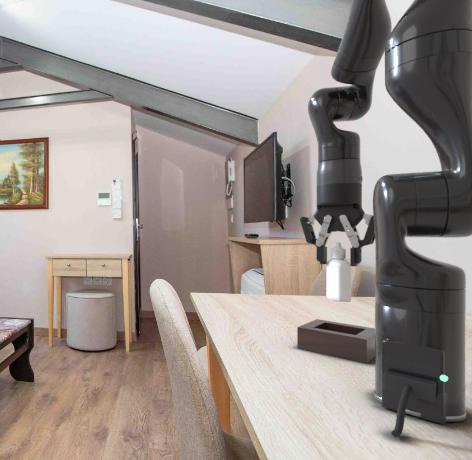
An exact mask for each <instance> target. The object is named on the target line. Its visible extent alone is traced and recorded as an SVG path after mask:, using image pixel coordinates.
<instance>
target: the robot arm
mask: <svg viewBox="0 0 472 460" xmlns="http://www.w3.org/2000/svg"><path fill="white" fill-rule="evenodd" d="M350 3H351V4H350V8H349V12H348V16H347V22H346V25H345V29H344V32H343V36H342V39H341V41H340V44H339V46H338V49H337V52H336V55H335V58H334V61H333V64H332V65H331V70H330V75H331V78H332V79H333V80H334V81H336V82H337V83H341V84H344V85H345V86H344V85H343V86H333V87H323V88H319V89H317V90H316V91H314V92H313V94H312V95H311V96H310V98H309V100H308V105H307V113H308V117H309V119H310V122H311V125H312V127H313V131H314V134H315V138H316V142H317V148H318V149H317V170H316V210H315V212H314V213H313V214H311V215H308V216H300V217H299V222H300V225H301V228H302V231H303V235H304V238H305V241H306V243H307V244H311V245H314V246H315V247H316V261H317V262H319V264H320V265H327V262H328V246H326V245H327V243H328V241H329V238H330V237H331V235H332V233H336V232H341V233H345V234H346V236H347V238H348V239H349V242H350V244H351V247H350V248H349V249H350V252H349V253H350V255H349V256H350V257H349V258H350V259H349V261H350V262H349V264H350V265H351V267H358V265H359V264H361V263H362V249H363V248H364V247H365V246H371V245H373V244H374V243H375V244H374V245H375V249H374V250H375V273H374V274H375V276H374V277H375V278H374V281H375V282H374V285H375V286H374V292H375V293H374V297H375V299H374V301H375V302H374V328H375V357H374V391H373V397H374V399H375V400H376V401H378V402H379V403H380V404H381V407H382V408H384V409H388V410H391V411H395V412H396V416H395V417H396V418H395V425H394V429H393V430H391V436H393V437H394V438H399V437H400V436H401V435H402V433H403V431H404V426H405V419H406V418H405V417H406V415H410V416H413V417H417V418H421V419H423V420H426V421H431V422H434V423H438V424H442V425H444V424H445V423H447V422H449V423H451V422H452V423H453V422H454V423H455V422H462V421H466V419H467V409H466V310H467V309H466V307H467V305H466V304H467V303H466V301H467V300H466V298H467V295H466V287H467V277H466V272H465V270H464V269H463V268H462V267H460V266H458V265H455V264H453V263H452V264H451V263H448V262H444V261H440V260H437V259H434V258H430V257H428V256H425V255H423V254H421V253H419V252H417V251H415V250H413V249H412V248H410V246H408V244H407V241H406V238H443V239H445V238H448V239H449V238H451V239H452V238H468V237H471V236H472V0H413V1H412V3H411V4H410V5H409V7H408V8H407V9H406V11H405V12H404V13H403V14H402V16H401V17H400V19H399V20H398V22H396V24H395V26H394V27H393V28H392V26H393V25H392V19H391V14H390V11H389V9H388V5H387V1H386V0H351V2H350ZM383 56H384V87H385V89H386V92H387V94H388V95H389V97H390V98H391V99H392V101H393V102H394V103H395V105H396V106H398V107H399V108H400V110H402V112H404V113H405V114H406V115H407V116H408V117H409V118H410V119H411V120H412V121H413V122H414V123H415V124H416V125H417V126H418V127H419V128H420V129H421V130H422V131H423V133H424V134H425V135H426V137H427V138H428V139H429V140H430V142H431V144H432V145H433V147H434V149H435V151H436V154H437V157H438V160H439V163H440V170H435V171H434V170H433V171H417V172H403V173H401V172H400V173H392V174H391V173H390V174H389V173H388V174H385V175H382V176H381V177H379V178H378V180H377V181H376V183H375V184H374V188H373V195H372V214H369V213H365V211H364V209H363V170H362V163H361V136H360V134H359V133H358V132H356V131H352V130H345V129H341V128H338V127H337V126H336V124H335V123H340V122H354V121H357V120H360V119H362V118H363V117H365V116H366V115H367V114H368V112H369V111H370V110H371V107H372V104H373V90H374V84H375V77H376V73H377V69H378V67H379V65H380V62H381V60H382V58H383ZM363 219H364V223H365V225H367V228H366V231H365V234H364V237H363V239H361V237H360V233H359V230H358V227H357V226H358V225H359V224H360V223H361V222H362V220H363ZM315 221H317V223H318V224H319V225H320V226H321V227H320V230H319V231H318V236H317V237H316V233H315V230H314V228H313V227H314V225H315Z"/></svg>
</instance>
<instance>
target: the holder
mask: <svg viewBox="0 0 472 460" xmlns="http://www.w3.org/2000/svg"><path fill="white" fill-rule="evenodd" d="M296 332H297V333H296V335H297V336H296V339H297V340H296V341H297V342H296V343H297V344H296V345H297V346H296V347H297V349H299V350H304V351H309V352H313V353H316V354H322V355H326V356H331V357H335V358H341V359H345V360H348V361H349V360H350V361H353V362H358V363H363V364H368V363H369V362H371V361H372V360H373V359H375V327H369V326H363V325H356V324H351V323H344V322H339V321H338V322H337V321H332V320H324V319H319V318H316V319H313V320H311V321H309V322H307V323H304V324H302V325H299V326H297V331H296Z"/></svg>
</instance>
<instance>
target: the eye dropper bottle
mask: <svg viewBox="0 0 472 460" xmlns="http://www.w3.org/2000/svg"><path fill="white" fill-rule="evenodd" d="M346 251H347V250H346V248H344V247H343V246H342V243H341V241H340V242H338V241H336V242H335V246H334V247H333V248H331V249H330V259H329V260H327V264H326V267H325V268H326V273H325V274H326V277H325V278H326V279H325V281H326V284H325V285H326V290H325V292H326V298H327V299H329V300H331V301H334V302H340V303H341V302H342V303H350V302H351V301H352V266H351V265H350V262H349V261H348V260H346V258H347V256H346V255H347V254H346V253H347V252H346Z"/></svg>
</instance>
